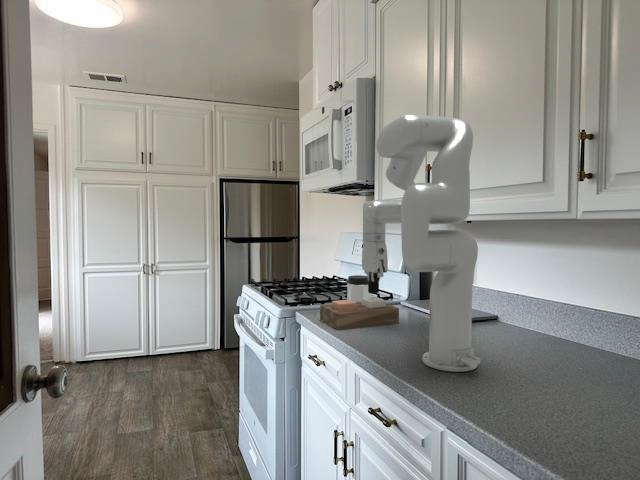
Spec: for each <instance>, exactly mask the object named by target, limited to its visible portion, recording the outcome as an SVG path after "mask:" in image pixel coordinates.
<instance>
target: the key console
mask: <svg viewBox="0 0 640 480" xmlns="http://www.w3.org/2000/svg"><path fill="white" fill-rule="evenodd" d="M355 303H356V310H345V311H338V310H336V309H334V308H332V303H330V304H320V305H319V310H320V311H319V313H320V314H319V317H320V318H319V320H320V322H323V323H325V324H326V325H327V326H330V327H331V328H333V329H335V330H337V331H342V330H351V329H361V328H370V327H379V326H388V325H396V324H399V323H400V321H399V320H400V307H398V306H394V305H391V304H388V303H386V307H377V308H368V307H365V306H363V305H361V302H355Z"/></svg>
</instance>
